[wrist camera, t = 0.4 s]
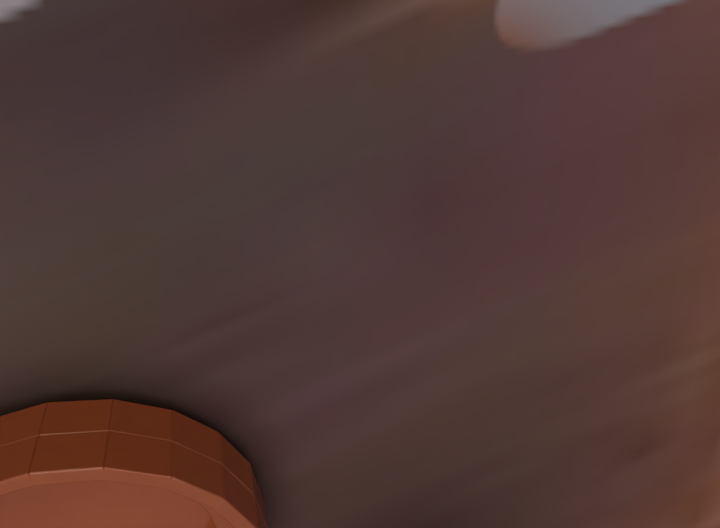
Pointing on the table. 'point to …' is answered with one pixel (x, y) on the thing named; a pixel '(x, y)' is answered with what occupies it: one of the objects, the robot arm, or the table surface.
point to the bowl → (121, 470)
